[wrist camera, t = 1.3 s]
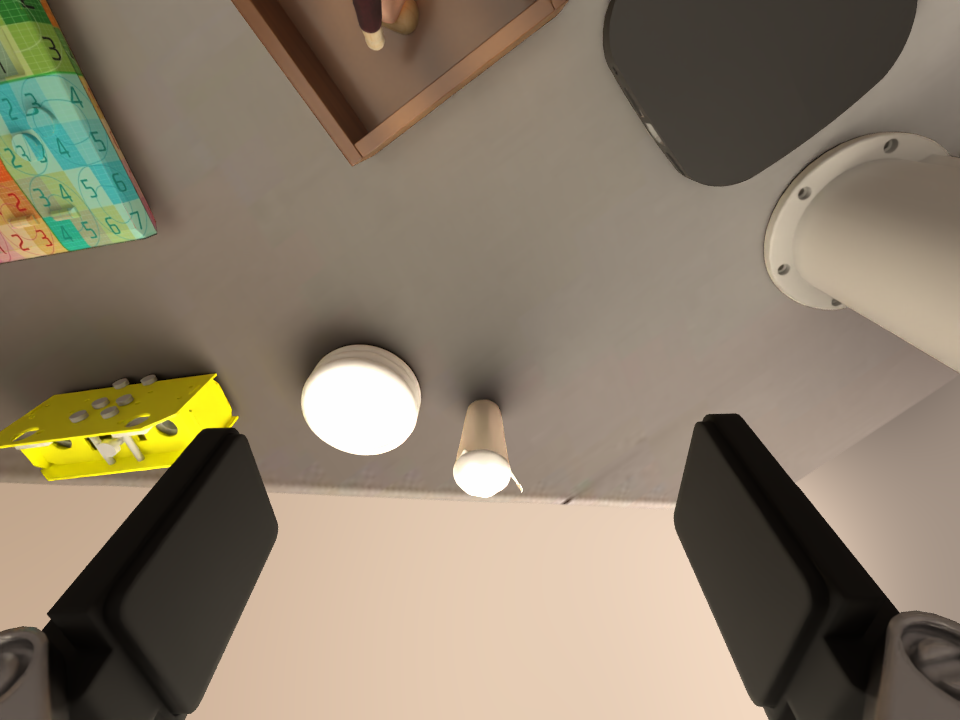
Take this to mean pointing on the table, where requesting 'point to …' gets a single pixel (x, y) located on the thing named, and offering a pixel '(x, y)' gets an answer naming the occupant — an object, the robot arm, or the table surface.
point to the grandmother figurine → (385, 18)
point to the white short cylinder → (361, 400)
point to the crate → (387, 59)
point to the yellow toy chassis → (118, 426)
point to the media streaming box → (747, 73)
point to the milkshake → (483, 452)
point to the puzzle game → (57, 148)
